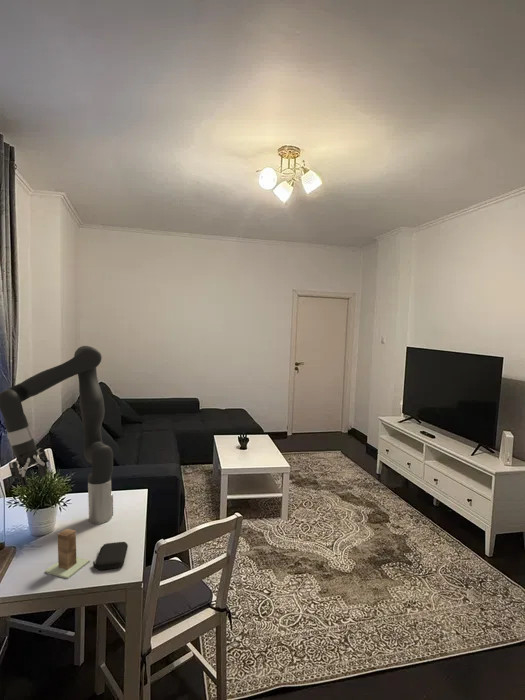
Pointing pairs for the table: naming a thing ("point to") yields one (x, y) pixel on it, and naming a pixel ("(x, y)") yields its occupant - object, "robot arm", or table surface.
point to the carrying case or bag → (111, 556)
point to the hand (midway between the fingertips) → (34, 480)
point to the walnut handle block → (67, 549)
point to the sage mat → (68, 573)
